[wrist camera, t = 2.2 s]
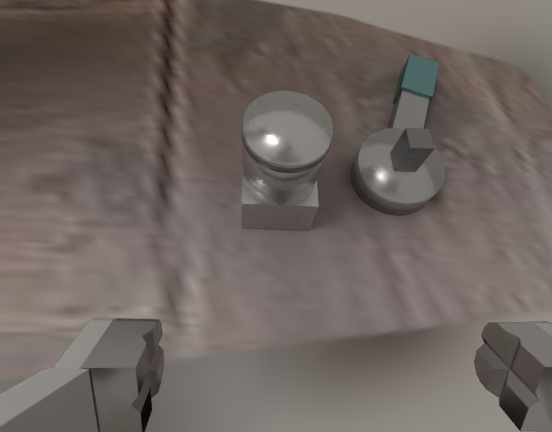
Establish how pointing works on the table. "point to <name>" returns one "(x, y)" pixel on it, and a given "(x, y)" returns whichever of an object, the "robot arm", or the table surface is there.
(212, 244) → the table surface
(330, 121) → the cylinder on square base
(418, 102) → the ratchet
